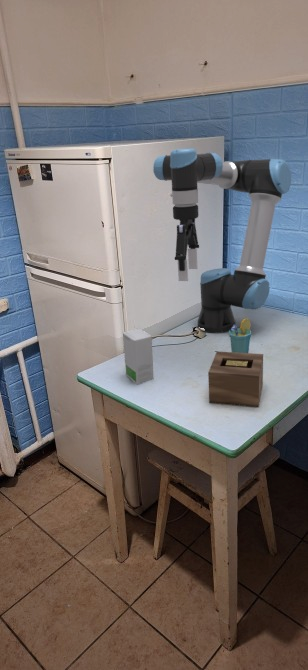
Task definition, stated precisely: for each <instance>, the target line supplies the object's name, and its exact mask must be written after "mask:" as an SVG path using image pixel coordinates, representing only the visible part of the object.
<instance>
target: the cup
mask: <svg viewBox="0 0 308 670" xmlns="http://www.w3.org/2000/svg"><path fill="white" fill-rule="evenodd" d="M251 326H252V323H251V320H250V318H243V319H242V321H241V322H240V327H238V326H237V325H236V324H235V325H233V327H232V328H231V330H229V331H228V336H229V338H230V348H231V352H236V353H249V352H250V342H251V337H252V331H251Z"/></svg>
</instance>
